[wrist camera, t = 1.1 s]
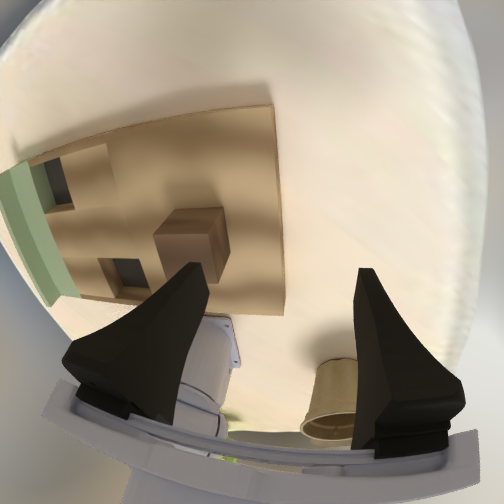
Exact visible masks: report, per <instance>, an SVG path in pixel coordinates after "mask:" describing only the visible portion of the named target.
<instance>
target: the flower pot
mask: <svg viewBox="0 0 504 504" xmlns="http://www.w3.org/2000/svg"><path fill="white" fill-rule="evenodd" d="M357 385H358V362H357V361H355V360H352V359H347V358H343V359H341V360H330V361H328V362H325V363H324V364H322V365H321V366H320V367H319V368H318V369H317V372H316V378H315V384H314V389H313V393H312V398H311V403H310V407H309V411H308V413H307V414H306V416H305V420H304V421H303V422H302V424H301V426H300V431H301V433H303V434H304V435H305V436H308V437H310V438H313V439H318V440H326V441H339V440H348V439H352V437H353V430H354V422H355V413H356V401H357Z"/></svg>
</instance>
